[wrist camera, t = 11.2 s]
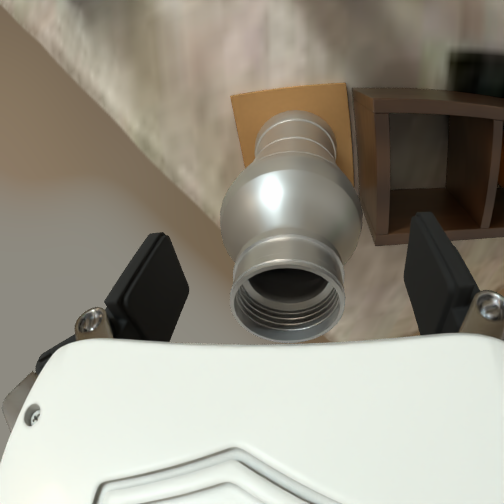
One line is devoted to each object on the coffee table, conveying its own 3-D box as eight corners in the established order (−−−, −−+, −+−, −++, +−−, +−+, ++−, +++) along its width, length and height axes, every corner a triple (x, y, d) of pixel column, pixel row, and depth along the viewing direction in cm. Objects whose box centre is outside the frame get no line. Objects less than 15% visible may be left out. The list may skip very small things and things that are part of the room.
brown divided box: (351, 88, 22) (372, 98, 16) (524, 102, 18) (572, 124, 11) (359, 200, 28) (375, 246, 22) (515, 195, 24) (552, 233, 18)
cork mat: (231, 95, 24) (230, 96, 24) (345, 82, 22) (345, 83, 22) (251, 195, 30) (250, 197, 29) (353, 186, 28) (354, 188, 27)
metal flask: (343, 160, 26) (403, 342, 10) (275, 184, 28) (239, 375, 12) (317, 95, 23) (368, 181, 7) (245, 123, 25) (145, 259, 9)
